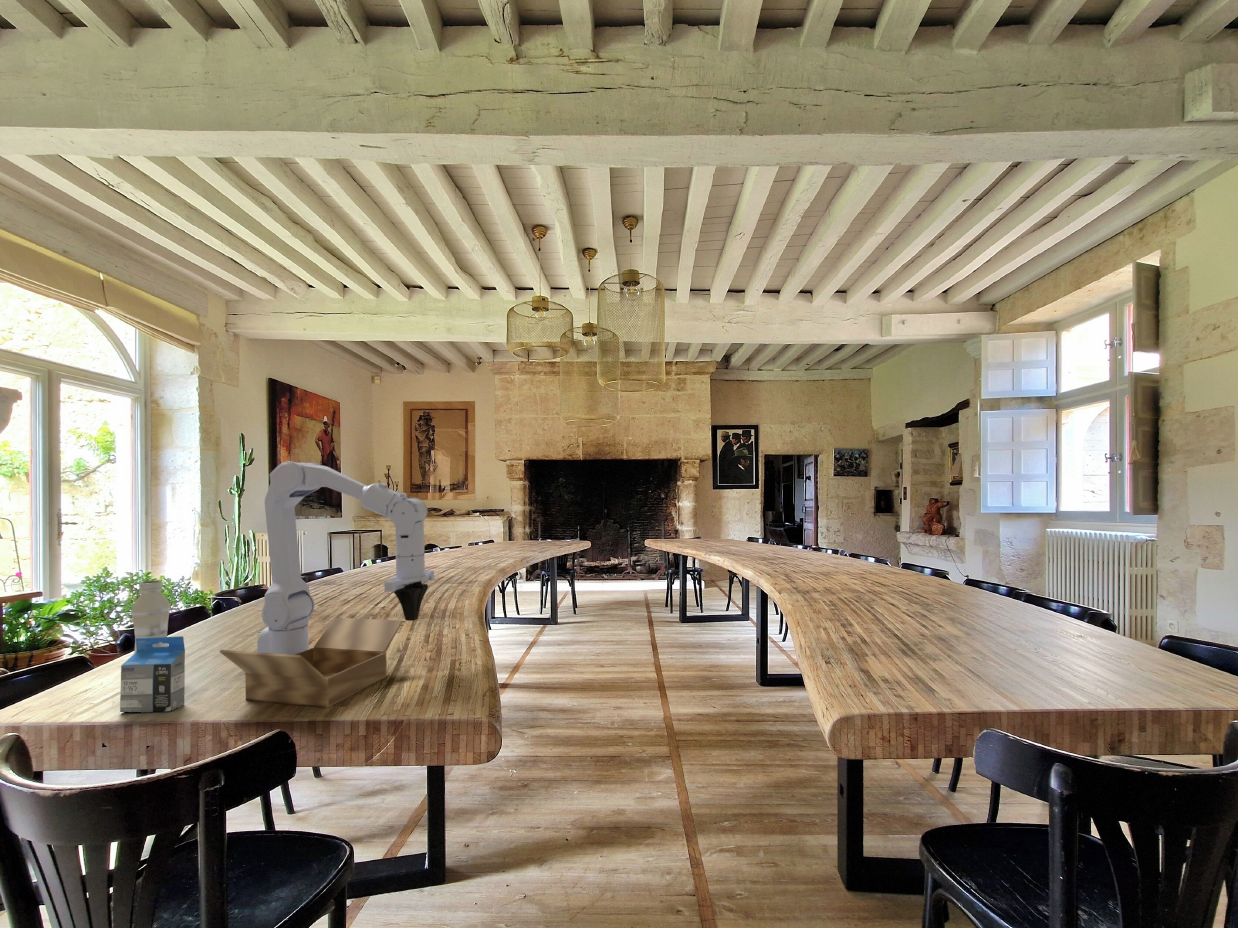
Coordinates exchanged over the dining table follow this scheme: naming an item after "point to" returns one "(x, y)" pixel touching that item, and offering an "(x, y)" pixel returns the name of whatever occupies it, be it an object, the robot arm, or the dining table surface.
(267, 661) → the flap near
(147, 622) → the plastic bottle
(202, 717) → the dining table surface
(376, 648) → the flap far
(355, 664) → the carton
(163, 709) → the label tape box
